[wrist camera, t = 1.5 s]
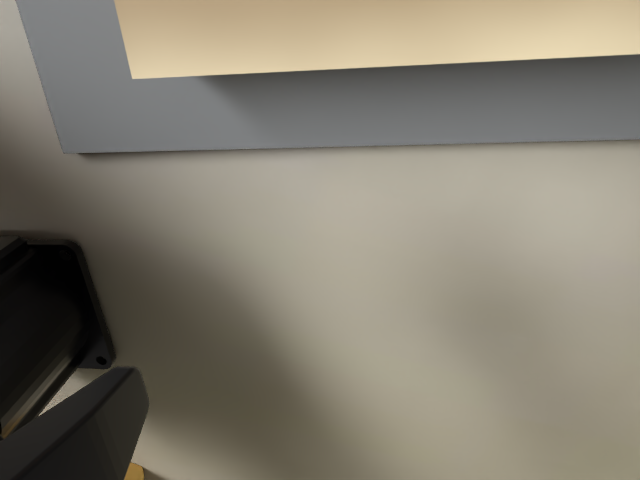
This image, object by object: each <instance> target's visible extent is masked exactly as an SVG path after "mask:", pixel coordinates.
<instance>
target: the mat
mask: <svg viewBox="0 0 640 480" xmlns="http://www.w3.org/2000/svg"><path fill="white" fill-rule="evenodd" d="M16 3H17V7H18V10H19V13H20V16H21V19H22V23H23V26H24V29H25V32H26V35H27V39H28V42H29V45H30V48H31V52H32V55H33V58H34V61H35V64H36V68H37V71H38V74H39V77H40V80H41V84H42V87H43V90H44V93H45V96H46V100H47V103H48V106H49V109H50V112H51V116H52V119H53V122H54V125H55V128H56V132H57V135H58V138H59V141H60V144H61V148H62V151H63V153H102V152H143V151H184V150H224V149H265V148H306V147H346V146H387V145H428V144H468V143H509V142H549V141H590V140H631V139H640V54H631V55H611V56H591V57H570V58H550V59H530V60H510V61H489V62H469V63H449V64H429V65H408V66H388V67H368V68H347V69H327V70H307V71H287V72H266V73H246V74H226V75H206V76H185V77H165V78H145V79H132V75H131V71H130V67H129V63H128V58H127V54H126V50H125V45H124V41H123V37H122V32H121V28H120V24H119V19H118V15H117V11H116V7H115V2H114V0H16Z"/></svg>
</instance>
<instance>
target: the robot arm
mask: <svg viewBox="0 0 640 480" xmlns="http://www.w3.org/2000/svg"><path fill="white" fill-rule="evenodd" d="M65 250H66V251H68V252H69V253H70V254H71V256H70V255H68V254H67V253H66V251H65ZM103 357H104V358H103ZM115 360H116V354H115V351H114V348H113V345H112V342H111V339H110V336H109V333H108V330H107V327H106V323H105V320H104V317H103V314H102V311H101V308H100V305H99V302H98V299H97V296H96V293H95V289H94V286H93V283H92V280H91V277H90V274H89V271H88V268H87V265H86V262H85V259H84V255H83V252H82V250H81V248H80V246H79V245H78V244H77V243H75V242H73V241H70V240H26V239H24V238H22V237H19V236H0V480H124V479H125V476H126V473H127V470H128V467H129V465H130V462H131V459H132V456H133V453H134V450H135V447H136V444H137V441H138V438H139V436H140V433H141V430H142V427H143V424H144V421H145V418H146V415H147V412H148V408H149V398H148V394H147V391H146V388H145V385H144V381H143V378H142V375H141V372H140V370H139V369H138V368H136V367H130V366H117V367H115V368H113V369H111V370H110V371H108V372H107V373H105V374H103V375H102V376H100V377H99V378H97V379H96V380H94V381H93V382H91V383H90V384H88V385H86V386H85V387H83V388H82V389H80V390H79V391H77V392H76V393H74V394H73V395H71V396H69V397H68V398H66V399H65V400H63V401H62V402H60V403H59V404H57V405H56V406H54V407H52V408H51V409H49V410H48V411H46V412H45V413H43V414H42V415H40V416H38V415H39V414H40V413H41V412H42V411H43V409H44V408H45V407H46V406H47V404H48V403H49V402H50V401H51V399H52V398H53V397H54V396H55V395H56V393H57V392H58V391H59V390H60V388H61V387H62V386H63V385H64V384H65V382H66V381H67V380H68V379H69V377H70V376H71V375H72V374H73V373H74V371H75V370H76V369H77V368H92V369H108V368H110V367H111V366H112V364H113V363H114V362H115Z"/></svg>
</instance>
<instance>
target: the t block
mask: <svg viewBox="0 0 640 480" xmlns="http://www.w3.org/2000/svg"><path fill="white" fill-rule="evenodd" d="M114 2H115V7H116V11H117V15H118V19H119V24H120V28H121V32H122V37H123V41H124V45H125V50H126V54H127V58H128V63H129V67H130V71H131V75H132V79H145V78H165V77H185V76H206V75H226V74H246V73H266V72H287V71H307V70H327V69H347V68H368V67H388V66H408V65H429V64H449V63H469V62H489V61H510V60H530V59H550V58H570V57H591V56H611V55H631V54H640V0H114Z"/></svg>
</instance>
